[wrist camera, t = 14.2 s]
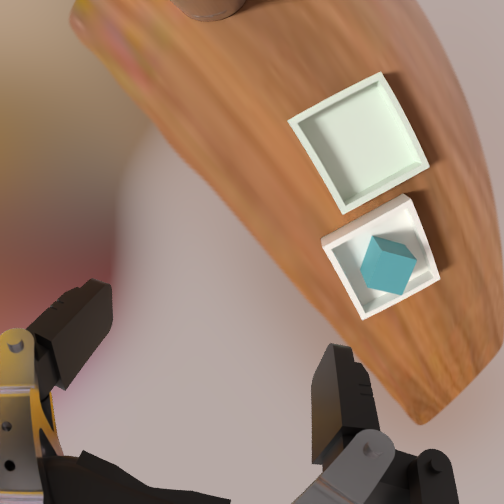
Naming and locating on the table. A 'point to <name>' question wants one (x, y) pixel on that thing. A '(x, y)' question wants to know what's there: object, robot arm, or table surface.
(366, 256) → the teal cube
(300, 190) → the table surface
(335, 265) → the cream tray
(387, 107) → the sage tray
